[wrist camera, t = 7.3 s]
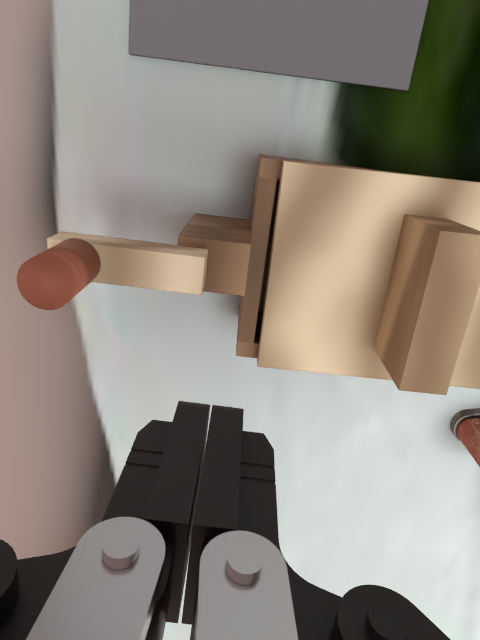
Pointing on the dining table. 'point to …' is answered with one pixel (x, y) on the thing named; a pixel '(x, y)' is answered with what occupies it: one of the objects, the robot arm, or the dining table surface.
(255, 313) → the toolbox
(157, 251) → the wooden block with peg
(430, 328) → the lid
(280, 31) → the mat
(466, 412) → the lighter
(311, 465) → the dining table surface
